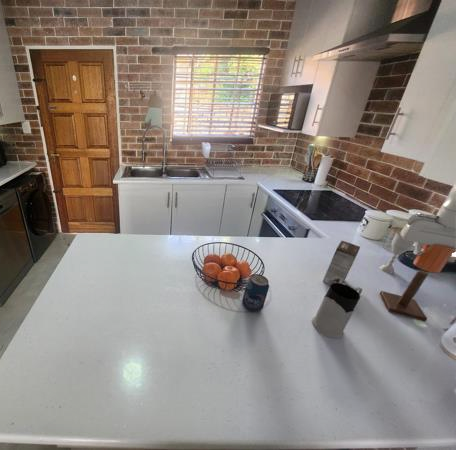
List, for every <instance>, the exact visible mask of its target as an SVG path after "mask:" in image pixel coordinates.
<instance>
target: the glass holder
mask: <svg viewBox="0 0 456 450" xmlns="http://www.w3.org/2000/svg"><path fill="white" fill-rule="evenodd" d="M362 292H363V288H361V287H360V286H359V287H356V288H353V287H351V286H350V285H347V284H345V283H343V284H341V283H332V284H331V285H329V287H328V289H327V291H326V294H325V295H324V297H323V298H322V301H321V303H320V305H319V307H318V310H317V312H316V314H315V316H314V317H313V318H312V319H311V324H312V326H313V328H315V330H316V331H317V332H318V333H320V334H322V335H323V336H326V337H328V338H331V339H341V338H342V337H343V336H344V330H345V328H346V327H347V325H348V323H349V321H350V320H351V318H352V315H353V313H354V312H355V308H356V306H357V304H358V303H359V302H360V299H361V295H362Z"/></svg>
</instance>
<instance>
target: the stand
mask: <svg viewBox="0 0 456 450" xmlns="http://www.w3.org/2000/svg"><path fill="white" fill-rule="evenodd" d="M428 276H429V272H428V271H425V270H423V269H417V271H416V272H415V273H414V275H413V277H412V279H411V280H410V282H409V283H408V285H407V287H406V288H405V289H404V291H403V293H402V295H399V294H396V293H391V292H387V291H384V290H381V291H380V292H379V296H380V298H381V300H382V302H383V304H384V306H385V307H386V309H387V311H388V312H390V313H393V314H398V315H401V316H403V317H408V318H411V319H415V320H419V321H423V322H426V321H427V320H428V317H427V315H426V314H425V312H424V311H423V309H422V308H421V307H420V305H419V303H418V302H417V300H416V299H415V298H414V297H415V296H416V294H417V293H418V291H419V289H420V288H421V286H422V285H423V284H424V282H425V280H426V279H427V278H428Z"/></svg>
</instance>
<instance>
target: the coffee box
mask: <svg viewBox="0 0 456 450" xmlns="http://www.w3.org/2000/svg"><path fill="white" fill-rule="evenodd" d="M360 249H361V246H359V245H357V244H354V243H351V242H348V241H346V240H340V241H339V244H338V246H337V247H336V249H335V252H334V254H333V256H332V259H331V261H330V263H329V265H328V268H327V270H326V272H325V275H324V277H323V279H322V283H325V284H327V285H329V286H330V285H331V284H332V283H341V284H344V282H345V281H346V279H347V276H348V275H349V272H350V270H351V268H352V267H353V264H354V262H355V260H356V258H357V257H358V254H359V251H360Z"/></svg>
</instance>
